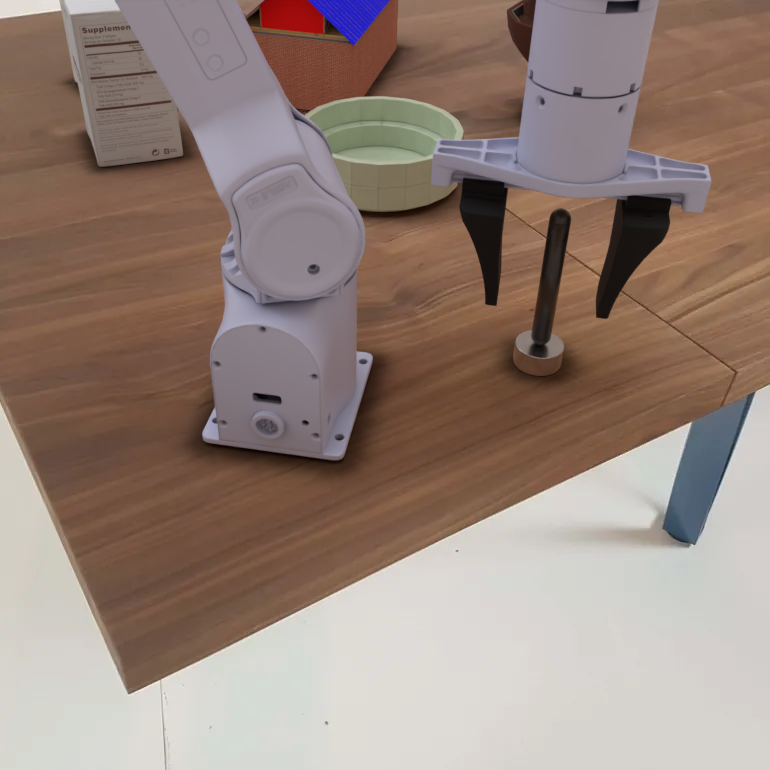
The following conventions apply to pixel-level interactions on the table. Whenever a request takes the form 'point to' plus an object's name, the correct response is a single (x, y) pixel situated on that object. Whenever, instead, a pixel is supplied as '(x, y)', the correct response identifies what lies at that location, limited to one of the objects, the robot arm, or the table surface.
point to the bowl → (386, 149)
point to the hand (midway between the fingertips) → (546, 302)
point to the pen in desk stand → (546, 305)
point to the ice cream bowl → (522, 25)
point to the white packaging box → (119, 87)
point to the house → (325, 46)
